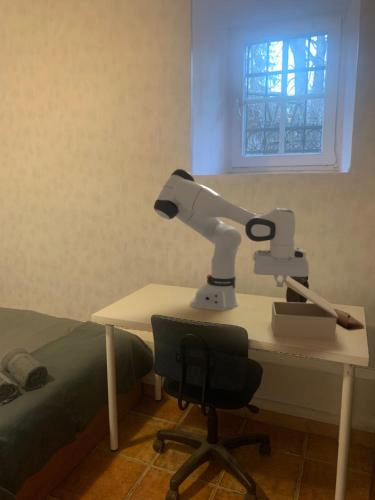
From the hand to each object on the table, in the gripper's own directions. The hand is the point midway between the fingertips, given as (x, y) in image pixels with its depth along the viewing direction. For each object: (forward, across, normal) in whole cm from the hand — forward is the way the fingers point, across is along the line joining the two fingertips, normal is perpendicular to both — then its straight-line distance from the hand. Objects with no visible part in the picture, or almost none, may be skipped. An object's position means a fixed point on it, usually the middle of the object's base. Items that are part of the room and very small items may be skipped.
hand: (279, 286), depth 146 cm
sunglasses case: (+20, +30, +18) cm, 40 cm away
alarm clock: (+19, +11, +31) cm, 38 cm away
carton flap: (+9, +20, +2) cm, 22 cm away
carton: (+19, +9, +2) cm, 22 cm away
